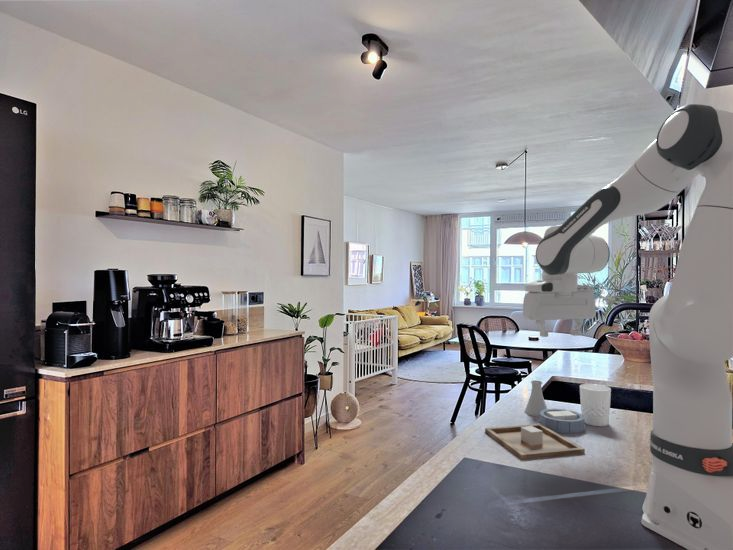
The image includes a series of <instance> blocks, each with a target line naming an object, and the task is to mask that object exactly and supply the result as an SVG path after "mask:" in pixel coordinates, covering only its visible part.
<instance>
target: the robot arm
mask: <svg viewBox="0 0 733 550" xmlns="http://www.w3.org/2000/svg"><path fill="white" fill-rule="evenodd" d="M698 175H700V176H702V177H704V179H705V185H704V189H703V191H702V193H701V195H700V198H699V200H698V202H697V204H696V207H695V210H694V212H693V215H692V218H691V220H690V223H689V226H688V228H687V231H686V233H685V235H684V238H683V241H682V243H681V246H680V249H679V252H678V258H677V262H676V267H675V270H674V274H673V279H672V282H671V284H670V285H671V286H670V289H669V292H668V293H667V294H665V295H663V296H661V297H660V298H658V300H656V301H655V302H654V303H653V305H652V306H651V308H650V311H649V315H648V334H649V335H648V336H649V337H648V338H649V352H650V355H649V356H650V366H651V367H650V368H651V375H652V376H651V377H652V378H651V379H652V399H653V400H652V402H653V403H652V406H653V407H652V411H653V413H652V418H653V419H652V420H653V421H652V425H653V426H652V429H651V431H650V434H649V435H650V438H649V452H650V453H651V454H652V455H651V457H652V460H651V465H650V471H649V475H648V483H647V490H646V493H645V494H646V495H645V498H644V502H643V504H642V512H643V513H642V515H641V521H640V522H641V524H642V526H644V527H645V528H648V529H649V530H651V531H653V532H655V533H656V534H658V535H661V536H662V537H664V538H666V539H668V540H670V541H672V542H674V543H675V544H677V545H679V546H681V547H683V548H685V549H686V550H733V394H732V392H731V389H730V383H729V380H728V374H727V367H726V363H725V361H728V360H731V359H733V112H730V111H727V110H722V109H717V108H714V107H713V106H712V105H706V104H696V103H695V104H694V103H691V104H685V105H682V106H681V107H679V108H677V109H675V111H673V112H672V113H671V114H669V116H667V118H666V119H665V120H664V121H663V123H662V125H661V126H660V127H659V130H658V132H657V135H656V139H655V140H654V141H653V142H652V143H650V144H649V146H647V147H646V148H645V149H644V150H643V152H641V153H640V155H639V156H638V157H637V158H636V159H635V160H634V161H633V162H632V163H631V165H630V166H629V167H628V168H626V169H625V170H624V171H623V172H622V173H621V174H620V175H619V176H618V177H617V178H615V179H614V180H613V181H612V182H610V183H609V184H607V185H606V186H603V187H602V188H601V189H599V190H598V191H596V192H595V193H594V194H593V195H591V196H590V197H589V198H588V199H587V200H586V201H585V202H584V203H583V204H582V205H581V206H579V208H578V209H577V210H576V211H575V212H574V213H573V214H572V215H571V216H569V217H568V219H566V220H565V221H564V222H563V223H562V224H556V225H553V226H550V227H548V228H547V229H545V232H544V235H543V238H541V240H540V241H539V243H538V244H537V247H536V250H535V260H536V262H537V265H538V266H539V268H541V270H542V277H541V278H540V279H537V280H534V281H531V282H529V283H527V284H525V286H524V287H525V288H524V289H525V291H526V293H525V295H524V297H523V300H522V301H523V302H522V316H523V318H524V319H525V320H528V321H535V325H536V326H537V327H538V330H539V336H540V337H541V338H548V337H549V329H546V328H545V326H544V325H545V324H546V321H554V320H560V321H561V320H573V322H574V326H573V328H570V335H571V336H574V337H578V336H580V332H581V331H580V330H581V328H582V327H583V324H584V320H589V319H590V320H592V319H594V318H595V316H597V310H596V309H597V308H596V301H595V300H596V299H595V290H594V288H593V287H591V286H590V285H589V284H584V285H583V284H578V283H579V282H578V276H579V275H578V274H592V273H597V272H601V271H602V270H604V269H605V268H606V267H607V265H608V263H609V262H610V261H609V260H610V256H611V251H610V246H609V244H608V243H607V241H606V240H605V239H604V238H602V237H600V236H597V235H593V234H594V233H595V232H596V231H597V230H598V229H599V228H601V227H602V226H604V225H606V224H608V223H610V222H613V221H616V220H619V219H624V218H629V217H633V216H641V215H647V214H652V213H654V212H656V211H658V210H660V209H662V208H664V207H665V206H666V205H668V204H669V203H670V202H671V201H673V200H674V199H675V198H676V197H677V196H678V195H679V194H680V193H681V192H682V191H683V190H685V188H686V187H687V186H688V185H689V184H690V183H691V182H692V181H693V179H695V178H696V177H697V176H698Z"/></svg>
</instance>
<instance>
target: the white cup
mask: <svg viewBox="0 0 733 550" xmlns="http://www.w3.org/2000/svg"><path fill="white" fill-rule="evenodd" d="M611 392H612V389H611V387H610V386H607V385H603V384H596V383H595V384H594V383H584V384H583V383H582V384H580V385H579V396H580V397H579V399H580V402H579V403H580V411H581V414H582V415H583V416H584V424H586V425H588V426H589V425H590V426H593V427H607V426H609V424H610V423H609V422H610V411H611V409H610V408H611V396H612V393H611Z"/></svg>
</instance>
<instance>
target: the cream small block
mask: <svg viewBox="0 0 733 550" xmlns="http://www.w3.org/2000/svg"><path fill="white" fill-rule="evenodd" d="M546 416H548V417H550V418H554V419H559V420H565V415H563V414H561V413H560V412H558V411H551V412H546Z"/></svg>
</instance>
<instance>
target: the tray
mask: <svg viewBox="0 0 733 550" xmlns="http://www.w3.org/2000/svg"><path fill="white" fill-rule="evenodd" d="M527 426H533V427H535V428H537V429H540V430H542V431H543V444H540V445H533V446H531V445H530V444H528V443H526V442H524V441H522V440H521V427H527ZM484 433H485V434H487V435H488V436H489V437H491V438H492V439H494V440H495V441H496V442H497V443H499V444H500V445H502V446H503V447H504V448H505V449H507V450H509V452H510V453H512V454H513V455H514V456H515V457H517V458H519V459H520V460H521V461H522V460H531V459H543V458H552V457H553V458H554V457H562V456H563V457H564V456H565V457H566V456H572V455H573V456H574V455H583V454H585V452H586V450H585V449H586V448H584V447H582V446H581V445H579V444H577V443H575V442H573V441H572V440H570V439H568V438H566V437H564V436H562V435H560V434H559V433H558V432H555V431H552V430H550V429H548V428H547V427H545V426H543V425H541V424H540V423H536V424H535V423H534V424H532V423H531V424H524V425H523V424H521V425H508V426H498V427H485V428H484Z"/></svg>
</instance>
